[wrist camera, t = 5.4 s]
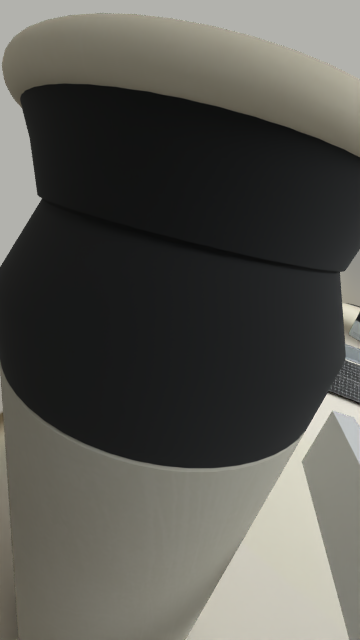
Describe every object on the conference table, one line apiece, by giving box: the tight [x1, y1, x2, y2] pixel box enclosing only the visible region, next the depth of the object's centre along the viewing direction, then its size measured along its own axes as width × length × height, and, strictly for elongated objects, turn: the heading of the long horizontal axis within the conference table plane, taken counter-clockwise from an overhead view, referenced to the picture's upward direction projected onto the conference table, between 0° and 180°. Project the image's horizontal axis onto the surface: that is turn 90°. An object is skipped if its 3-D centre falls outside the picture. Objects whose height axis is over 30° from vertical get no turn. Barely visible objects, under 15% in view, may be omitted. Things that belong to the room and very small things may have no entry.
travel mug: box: [0, 13, 360, 640], centre depth 9 cm, size 8×8×18 cm
